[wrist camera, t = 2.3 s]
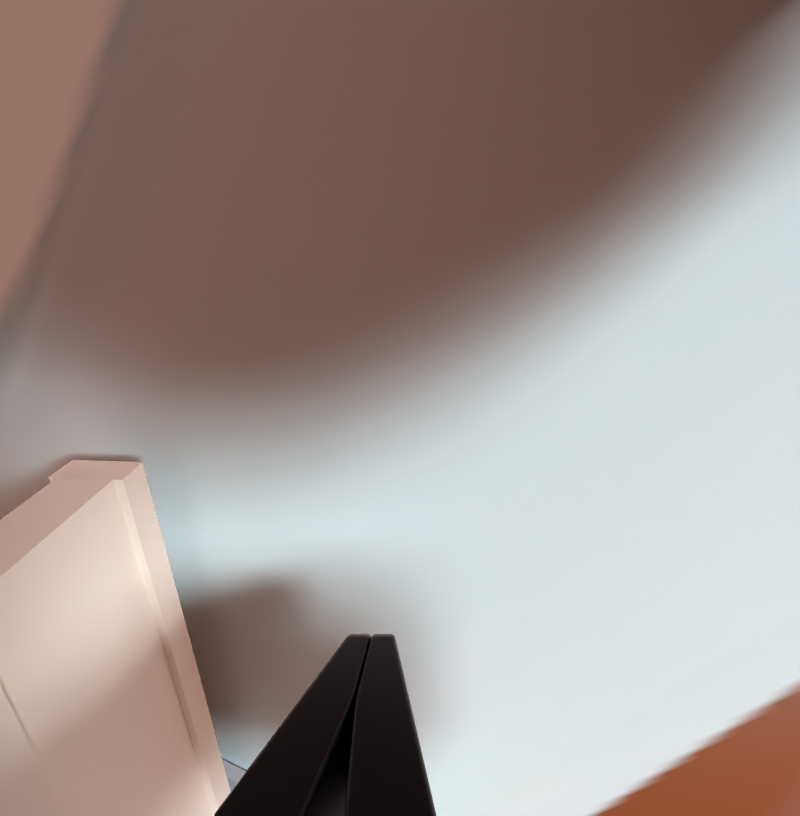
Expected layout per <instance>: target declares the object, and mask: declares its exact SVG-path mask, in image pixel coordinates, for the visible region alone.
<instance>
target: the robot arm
mask: <svg viewBox="0 0 800 816" xmlns="http://www.w3.org/2000/svg"><path fill="white" fill-rule="evenodd" d="M214 816H436V812H435V808H434V803H433V799H432V795H431V790H430V786H429V782H428V777H427V773H426V769H425V764H424V760H423V756H422V752H421V747H420V743H419V739H418V734H417V730H416V726H415V721H414V717H413V713H412V709H411V704H410V700H409V696H408V691H407V687H406V683H405V678H404V674H403V670H402V665H401V661H400V657H399V653H398V648H397V644H396V640H395V637H394V635H392V634H374V635H373V636H372V637H371V635H369V634H351V635H349V636H348V637H347V638H346V639H345V640H344V642H343V643H342V644H341V646H340V647H339V648H338V650H337V651H336V652H335V654H334V655H333V656H332V658H331V659H330V660H329V662H328V663H327V664H326V666H325V667H324V668H323V670H322V671H321V672H320V674H319V675H318V676H317V678H316V679H315V680H314V682H313V683H312V684H311V686H310V687H309V688H308V690H307V691H306V692H305V694H304V695H303V696H302V698H301V699H300V700H299V702H298V703H297V704H296V706H295V707H294V708H293V710H292V711H291V712H290V714H289V715H288V716H287V718H286V719H285V720H284V722H283V723H282V724H281V726H280V727H279V728H278V730H277V731H276V732H275V734H274V735H273V736H272V738H271V739H270V740H269V742H268V743H267V744H266V746H265V747H264V748H263V750H262V751H261V752H260V754H259V755H258V756H257V758H256V759H255V760H254V762H253V763H252V764H251V766H250V767H249V768H248V770H247V771H246V772H245V774H244V775H243V776H242V778H241V779H240V781H239V782H238V783H237V785H236V786H235V787H234V789H233V790H232V791H231V793H230V794H229V795H228V797H227V798H226V799H225V801H224V802H223V803H222V805H221V806H220V807H219V809H218V810H217V811H216V813H215V814H214Z"/></svg>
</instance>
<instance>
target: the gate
mask: <svg viewBox="0 0 800 816" xmlns="http://www.w3.org/2000/svg"><path fill="white" fill-rule="evenodd" d="M48 478H49V481H50V483H49V484H48V485H46V486H45V487H44V488H42V489H41V490H40V491H38V492H37V493H36V494H34V495H33V496H32V497H30V498H29V499H28V500H26V501H25V502H23V503H22V504H21V505H19V506H18V507H17V508H15V509H14V510H13V511H11V512H10V513H9V514H7V515H6V516H4V517H3V518H2V519H0V816H214V814H215V813H216V811H217V810H218V809H219V807H220V806H221V805H222V803H223V802H224V801H225V799H226V798H227V797H228V795H229V794H230V793H231V791H230V787H229V783H228V779H227V776H226V772H225V768H224V765H223V761H222V757H221V753H220V750H219V746H218V742H217V738H216V735H215V731H214V727H213V723H212V720H211V716H210V712H209V709H208V705H207V701H206V697H205V694H204V690H203V686H202V682H201V679H200V675H199V671H198V667H197V664H196V660H195V656H194V653H193V649H192V645H191V641H190V638H189V634H188V630H187V626H186V623H185V619H184V615H183V611H182V608H181V604H180V600H179V597H178V593H177V589H176V585H175V582H174V578H173V574H172V570H171V567H170V563H169V559H168V555H167V552H166V548H165V544H164V541H163V537H162V533H161V529H160V526H159V522H158V518H157V514H156V511H155V507H154V503H153V499H152V496H151V492H150V488H149V485H148V481H147V477H146V473H145V470H144V466H143V462H125V461H95V460H71V461H70V462H69V463H67V464H66V465H64V466H63V467H62V468H60V469H59V470H57V471H56V472H55V473H53V474H52V475H50V476H49V477H48Z"/></svg>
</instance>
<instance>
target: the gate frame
mask: <svg viewBox="0 0 800 816" xmlns="http://www.w3.org/2000/svg"><path fill="white" fill-rule="evenodd" d="M222 761H223V765H224V768H225V772H226V776H227V779H228V783H229V787H230V791H232V790H233V789H234V787H235V786H236V785H237V783H238V782H239V781H240V779H241V778H242V776H243V775H244V774H245V772H246V771H245V770H243V769H241V768H239V767H237V766H235V765H233V764H231V763H229V762H227V761H225V760H223V759H222Z"/></svg>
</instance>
